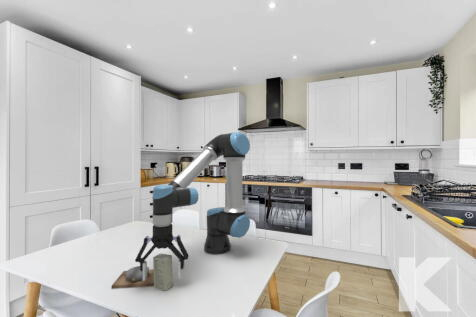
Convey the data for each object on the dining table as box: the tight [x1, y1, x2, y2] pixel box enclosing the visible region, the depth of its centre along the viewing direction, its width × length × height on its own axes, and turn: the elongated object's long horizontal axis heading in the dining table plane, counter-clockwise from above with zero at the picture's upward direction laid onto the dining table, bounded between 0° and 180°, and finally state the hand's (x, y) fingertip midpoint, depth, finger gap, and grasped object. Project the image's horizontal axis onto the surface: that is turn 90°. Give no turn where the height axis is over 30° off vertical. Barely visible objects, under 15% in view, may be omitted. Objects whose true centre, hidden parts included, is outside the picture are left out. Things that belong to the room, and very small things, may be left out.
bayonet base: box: [111, 265, 154, 290], centre depth 96 cm, size 16×12×4 cm
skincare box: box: [152, 253, 174, 291], centre depth 90 cm, size 6×4×12 cm
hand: (162, 278), depth 90 cm, fingers open, 13 cm apart
